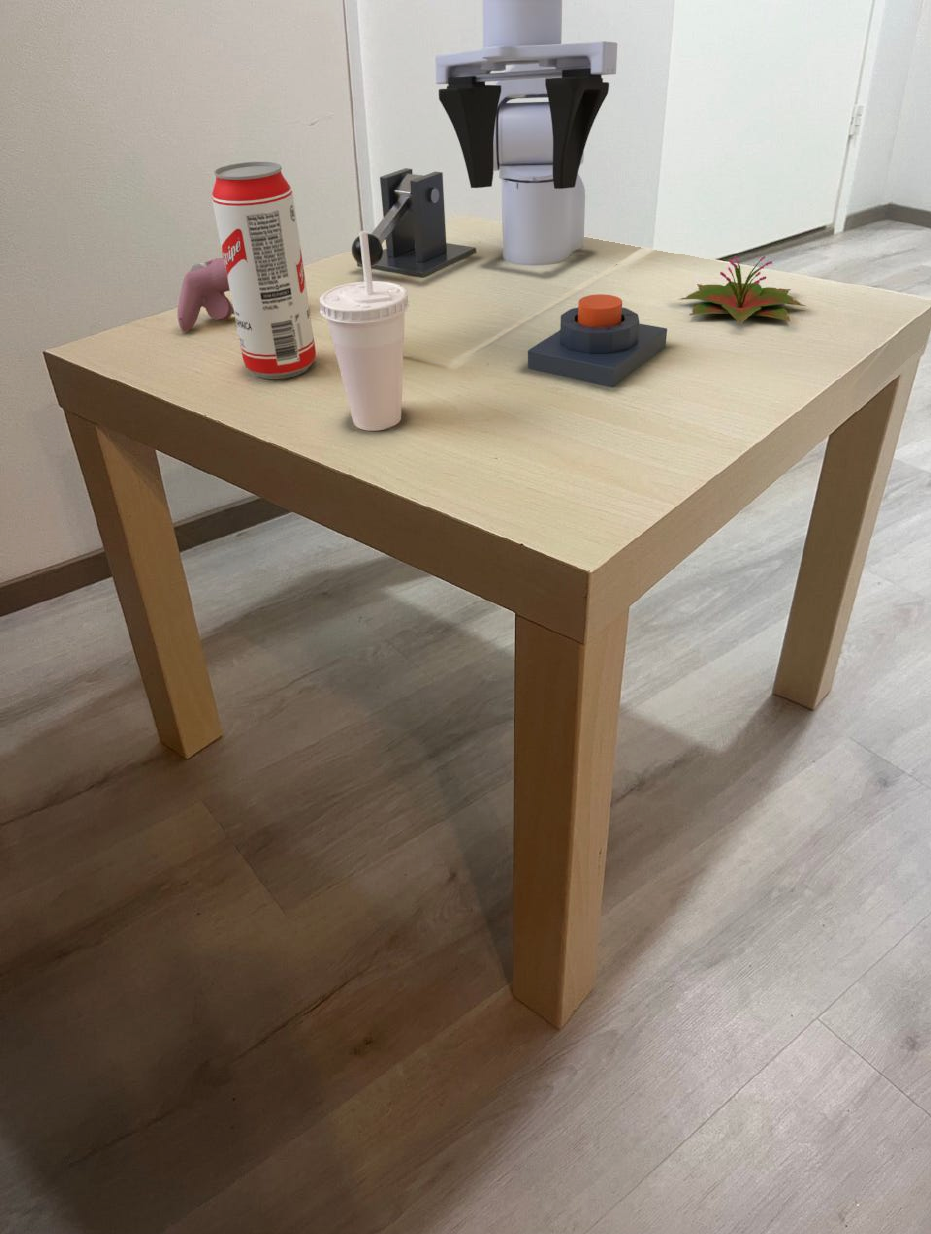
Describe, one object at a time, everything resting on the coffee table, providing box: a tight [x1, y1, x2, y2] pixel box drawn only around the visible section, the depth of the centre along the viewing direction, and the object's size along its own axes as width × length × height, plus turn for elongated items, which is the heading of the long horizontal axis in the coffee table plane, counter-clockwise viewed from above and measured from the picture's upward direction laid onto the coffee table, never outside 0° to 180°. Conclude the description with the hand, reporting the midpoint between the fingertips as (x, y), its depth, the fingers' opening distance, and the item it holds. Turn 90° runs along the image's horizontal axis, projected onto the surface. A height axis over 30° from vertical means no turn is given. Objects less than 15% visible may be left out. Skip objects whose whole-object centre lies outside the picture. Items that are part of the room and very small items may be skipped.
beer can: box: [211, 161, 317, 380], centre depth 77 cm, size 6×6×16 cm
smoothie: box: [319, 230, 410, 432], centre depth 68 cm, size 6×6×14 cm
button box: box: [527, 306, 668, 388], centre depth 79 cm, size 10×8×4 cm
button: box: [577, 293, 623, 327], centre depth 78 cm, size 4×4×2 cm
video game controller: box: [177, 257, 233, 333], centre depth 90 cm, size 10×5×7 cm, turn 84°
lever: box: [351, 173, 424, 267], centre depth 97 cm, size 12×3×3 cm, turn 145°
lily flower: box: [677, 255, 806, 325], centre depth 87 cm, size 12×12×5 cm
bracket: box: [356, 167, 477, 279], centre depth 100 cm, size 10×9×9 cm
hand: (521, 188), depth 72 cm, fingers open, 7 cm apart
